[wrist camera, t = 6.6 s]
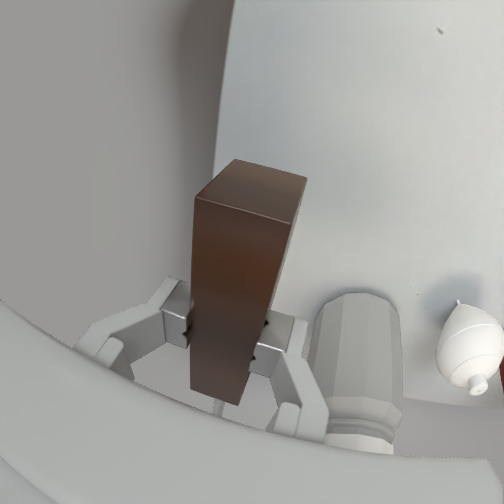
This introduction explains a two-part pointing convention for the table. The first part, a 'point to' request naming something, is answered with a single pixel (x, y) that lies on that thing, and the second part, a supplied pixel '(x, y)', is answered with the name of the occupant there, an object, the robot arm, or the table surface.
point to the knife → (236, 271)
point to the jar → (359, 371)
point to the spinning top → (470, 348)
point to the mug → (502, 371)
